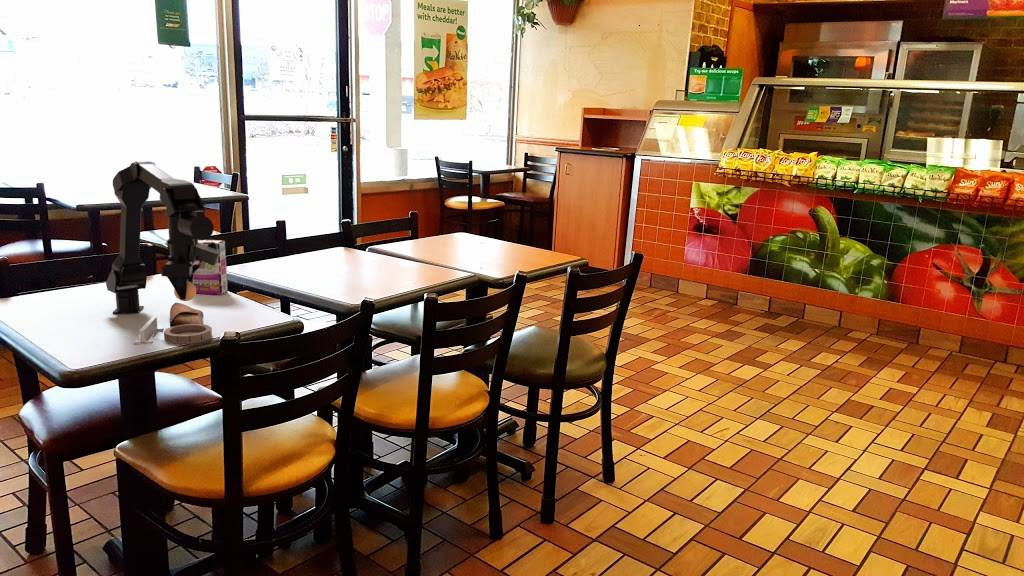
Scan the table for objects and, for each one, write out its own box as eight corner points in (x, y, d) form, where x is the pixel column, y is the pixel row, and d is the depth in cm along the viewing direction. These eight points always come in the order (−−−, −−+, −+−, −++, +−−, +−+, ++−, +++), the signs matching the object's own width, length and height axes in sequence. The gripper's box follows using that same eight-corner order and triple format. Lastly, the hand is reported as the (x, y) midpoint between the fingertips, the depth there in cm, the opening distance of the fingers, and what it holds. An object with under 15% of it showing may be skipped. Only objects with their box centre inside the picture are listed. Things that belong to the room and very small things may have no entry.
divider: (147, 330, 194) (146, 316, 194) (163, 329, 195) (162, 316, 194) (133, 344, 183) (132, 330, 182) (151, 344, 184) (150, 330, 183)
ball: (177, 298, 189) (176, 278, 188) (198, 298, 190) (197, 278, 189) (172, 303, 184) (171, 283, 183) (194, 303, 185) (193, 283, 184)
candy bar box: (228, 292, 235) (225, 240, 232) (222, 296, 231) (219, 242, 227) (193, 290, 236) (189, 238, 232) (185, 294, 231) (182, 241, 227)
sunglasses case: (206, 328, 196) (190, 307, 193) (181, 343, 194) (165, 322, 191) (203, 311, 212) (188, 292, 209) (180, 326, 210) (165, 306, 207)
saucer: (170, 331, 194) (169, 324, 193) (215, 331, 196) (215, 323, 195) (159, 345, 183) (158, 336, 183) (207, 344, 185) (207, 335, 185)
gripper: (209, 241, 176) (213, 306, 180) (223, 228, 194) (226, 287, 198) (158, 241, 174) (163, 306, 178) (176, 228, 192) (180, 288, 195)
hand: (185, 296), depth 187 cm, fingers closed on ball, 5 cm apart
